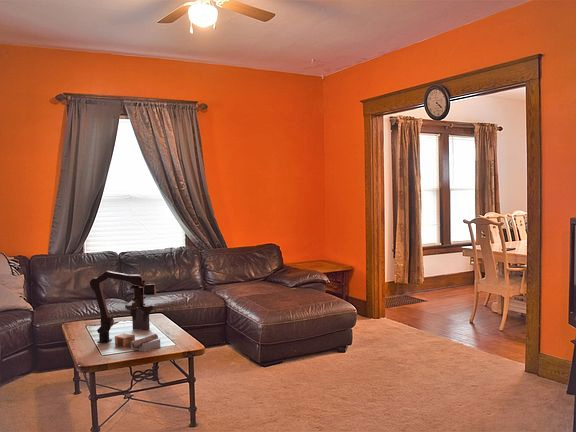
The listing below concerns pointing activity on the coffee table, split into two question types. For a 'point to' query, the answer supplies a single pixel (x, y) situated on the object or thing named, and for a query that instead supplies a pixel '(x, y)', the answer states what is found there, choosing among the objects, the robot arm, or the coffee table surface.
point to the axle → (144, 340)
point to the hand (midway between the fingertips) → (139, 321)
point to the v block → (147, 345)
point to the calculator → (140, 321)
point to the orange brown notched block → (124, 340)
